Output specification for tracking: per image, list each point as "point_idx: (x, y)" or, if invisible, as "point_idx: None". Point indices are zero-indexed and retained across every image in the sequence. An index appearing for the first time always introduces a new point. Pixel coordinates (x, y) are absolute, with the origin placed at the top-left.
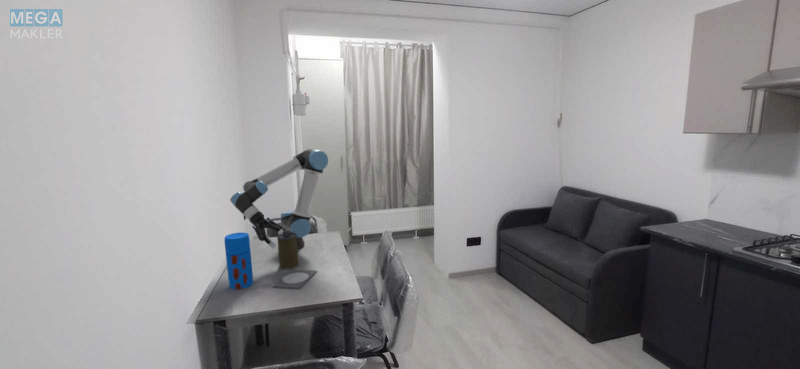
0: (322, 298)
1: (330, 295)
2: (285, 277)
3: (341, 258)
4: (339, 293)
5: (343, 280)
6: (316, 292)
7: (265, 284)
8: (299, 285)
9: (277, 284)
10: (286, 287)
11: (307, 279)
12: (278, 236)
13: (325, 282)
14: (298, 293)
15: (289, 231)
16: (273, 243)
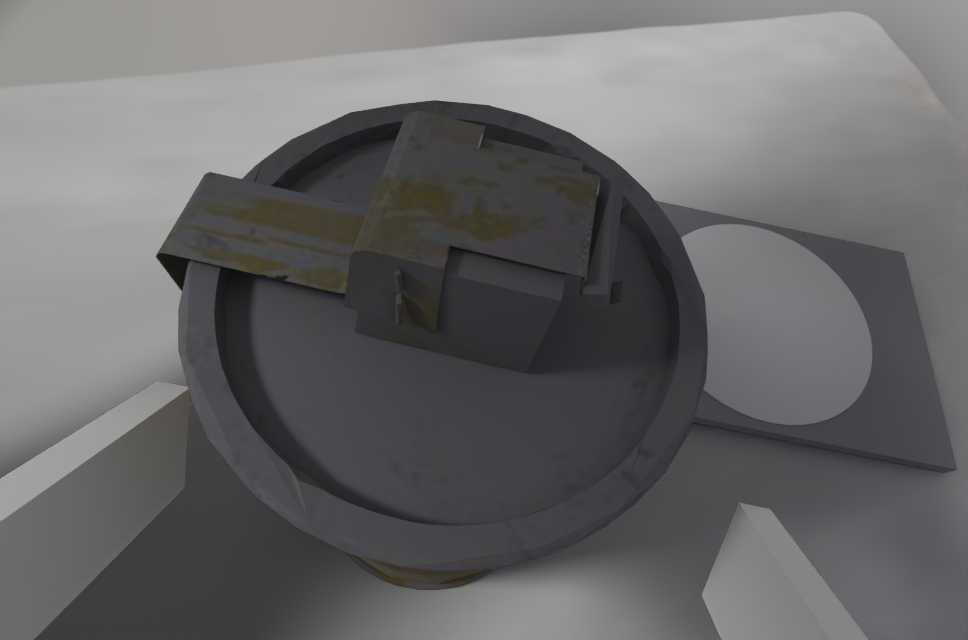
0: (950, 131)
1: (904, 101)
2: (778, 402)
3: (319, 65)
4: (868, 67)
5: (711, 53)
6: (899, 164)
7: (915, 571)
8: (875, 261)
9: (919, 433)
10: (921, 350)
11: (769, 226)
12: (486, 524)
13: (758, 132)
14: (950, 258)
15: (472, 137)
16: (809, 565)
